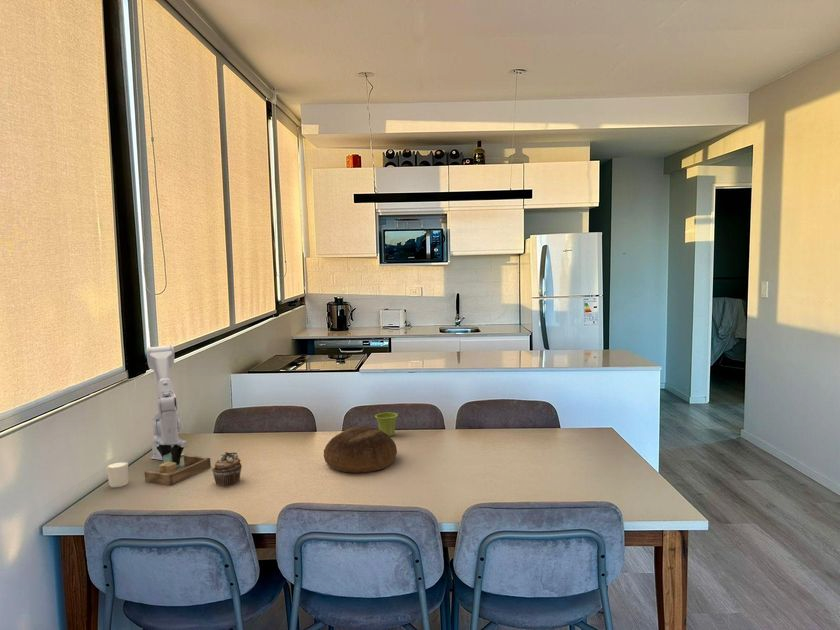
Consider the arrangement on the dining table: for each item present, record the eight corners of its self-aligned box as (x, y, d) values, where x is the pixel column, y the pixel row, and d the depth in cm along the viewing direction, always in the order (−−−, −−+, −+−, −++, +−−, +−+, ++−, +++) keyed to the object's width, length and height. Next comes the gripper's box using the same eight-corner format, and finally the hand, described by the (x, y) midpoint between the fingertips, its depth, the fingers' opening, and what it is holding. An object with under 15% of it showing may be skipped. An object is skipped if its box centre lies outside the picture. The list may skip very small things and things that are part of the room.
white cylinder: (134, 481, 210) (132, 462, 209) (118, 488, 203) (116, 468, 203) (119, 479, 212) (117, 460, 211) (103, 487, 206) (101, 467, 205)
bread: (411, 460, 221) (410, 425, 220) (356, 481, 202) (354, 443, 201) (365, 447, 240) (364, 415, 238) (310, 465, 220) (308, 430, 219)
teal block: (164, 468, 222) (162, 455, 221) (172, 465, 226) (171, 452, 225) (172, 470, 220) (170, 456, 220) (180, 466, 224) (179, 453, 223)
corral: (145, 481, 209) (144, 471, 209) (186, 463, 227) (185, 454, 226) (170, 485, 205) (169, 475, 204) (210, 467, 222) (210, 458, 221)
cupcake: (219, 477, 211) (217, 449, 210) (246, 476, 210) (244, 449, 210) (208, 487, 201) (206, 458, 200) (237, 487, 201) (235, 458, 200)
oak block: (160, 478, 212) (159, 465, 211) (169, 475, 215) (168, 461, 215) (168, 480, 210) (167, 466, 209) (177, 476, 214) (176, 462, 213)
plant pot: (397, 438, 250) (396, 417, 249) (375, 438, 250) (374, 418, 249) (398, 431, 259) (398, 412, 258) (377, 432, 259) (376, 412, 258)
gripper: (146, 429, 221) (148, 465, 222) (175, 432, 215) (178, 469, 216) (161, 424, 227) (164, 459, 229) (190, 427, 221) (192, 463, 223)
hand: (171, 464), depth 223 cm, fingers closed on teal block, 4 cm apart
